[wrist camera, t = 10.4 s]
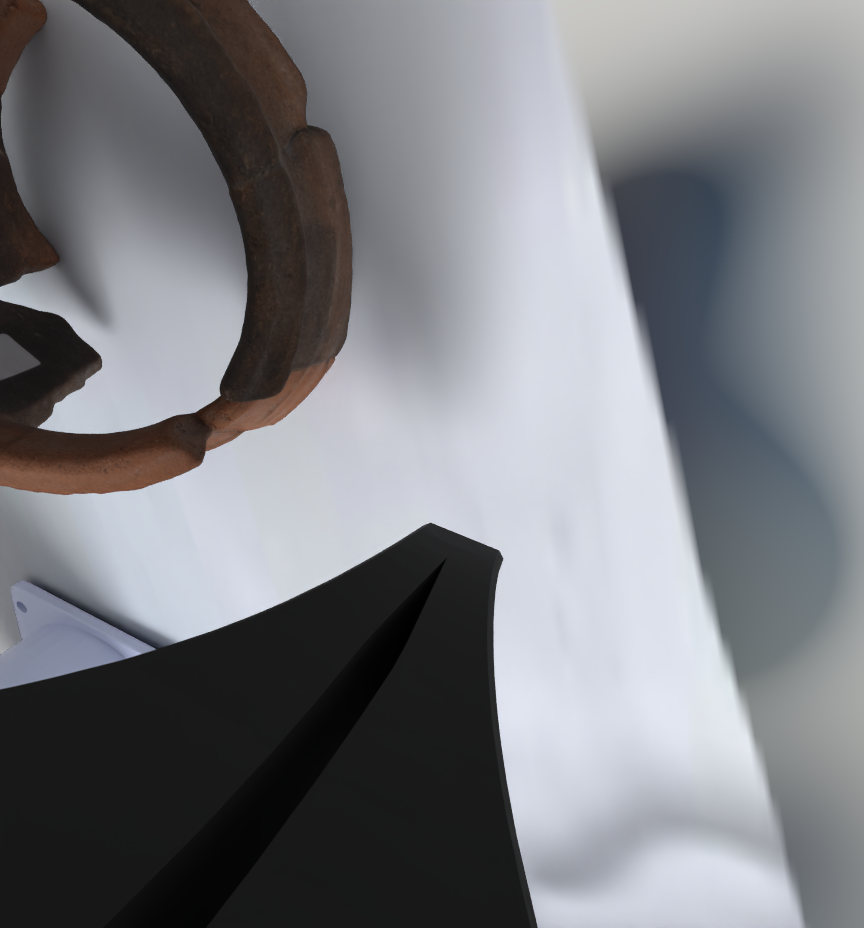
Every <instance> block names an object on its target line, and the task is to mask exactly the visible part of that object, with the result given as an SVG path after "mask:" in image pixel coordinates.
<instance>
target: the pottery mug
mask: <svg viewBox="0 0 864 928" xmlns="http://www.w3.org/2000/svg"><path fill="white" fill-rule="evenodd" d="M72 1H74V2H76V3H77V4H79V5H80V6H81V7H83V8H84V9H85V10H87V11H88V12H90V13H91V14H92V15H93V16H94V17H96V18H97V19H98V20H100V21H102V22H103V23H105V24H106V25H107V26H109V27H110V28H111V29H113V30H114V31H115V32H116V33H117V34H118V35H120V36H121V37H122V38H123V39H124V40H125V41H126V42H128V43H129V44H130V45H131V46H132V47H133V48H134V49H135V50H136V51H137V52H138V53H139V54H140V55H141V56H142V57H143V58H144V59H145V60H146V61H147V62H148V63H149V64H150V65H151V66H152V67H153V68H154V69H155V70H156V72H157V73H158V74H159V76H160V77H161V78H162V79H163V80H164V81H165V82H166V83H167V85H168V86H169V87H170V88H171V89H172V91H173V92H174V93H175V95H176V96H177V97H178V99H179V100H180V102H181V103H182V105H183V106H184V108H185V110H186V111H187V113H188V114H189V115H190V117H191V118H192V120H193V121H194V122H195V124H196V125H197V127H198V128H199V130H200V131H201V133H202V135H203V137H204V139H205V140H206V142H207V144H208V146H209V148H210V150H211V152H212V154H213V156H214V158H215V160H216V162H217V164H218V166H219V168H220V170H221V172H222V174H223V176H224V178H225V180H226V182H227V185H228V188H229V195H230V197H231V200H232V202H233V205H234V208H235V211H236V214H237V218H238V222H239V224H240V228H241V233H242V238H243V243H244V248H245V255H246V265H247V272H248V281H247V303H246V310H245V318H244V323H243V327H242V333H241V338H240V341H239V343H238V346H237V348H236V350H235V352H234V355H233V357H232V359H231V361H230V363H229V365H228V367H227V370H226V372H225V374H224V376H223V378H222V381H221V384H220V394H221V396H220V397H219V398H217V399H216V400H215V401H213V402H212V403H210V404H209V405H207V406H205V407H203V408H202V409H200V410H199V411H197V412H196V413H191V414H184V415H176V416H173V417H171V418H168V419H166V420H163V421H161V422H159V423H156V424H154V425H150V426H147V427H143V428H139V429H135V430H130V431H123V432H115V433H108V434H75V433H64V432H56V431H49V430H44V429H39V428H37V427H38V426H40V425H41V424H42V423H44V422H45V421H46V420H47V419H48V418H49V417H50V416H51V414H52V412H53V408H54V405H55V403H57V402H60V401H62V400H63V399H64V398H65V397H66V396H67V395H69V394H70V393H72V392H74V391H76V390H79V389H81V388H82V387H83V386H84V385H85V381H86V379H88V378H89V377H91V376H92V375H94V374H95V373H96V372H97V371H99V370H100V369H101V367H102V359H101V356H100V355H99V354H98V353H97V352H96V351H95V350H94V349H93V348H92V347H91V346H90V345H88V344H87V343H86V342H84V341H83V340H82V339H81V338H80V337H79V336H78V335H77V334H76V332H75V331H74V330H73V328H72V327H71V326H70V325H69V323H68V322H67V321H66V320H65V319H64V318H62V317H61V316H59V315H57V314H54V313H49V312H42V311H38V310H35V309H32V308H28V307H25V306H21V305H17V304H12V303H8V302H4V301H2V300H0V486H7V487H12V488H15V489H19V490H27V491H33V492H45V493H52V494H62V495H70V494H87V493H98V494H104V493H110V492H116V491H130V490H137V489H142V488H145V487H147V486H149V485H153V484H156V483H159V482H162V481H165V480H168V479H171V478H174V477H176V476H178V475H181V474H183V473H185V472H188V471H190V470H192V469H193V468H196V467H198V466H199V465H200V464H201V463H202V462H203V459H204V456H205V451H209V450H211V449H214V448H217V447H219V446H221V445H223V444H225V443H227V442H230V441H232V440H233V439H235V438H236V437H238V436H239V435H240V434H242V433H243V432H244V431H248V430H253V429H257V428H261V427H264V426H268V425H274V424H275V423H277V422H278V421H280V420H282V419H283V418H284V417H286V416H287V415H288V414H289V413H290V412H291V411H292V410H294V409H295V408H296V407H297V406H298V405H299V404H300V403H301V402H302V401H303V400H304V399H305V398H306V397H307V396H308V395H309V394H310V393H311V391H312V390H313V389H314V388H315V387H316V386H317V384H318V383H319V382H320V380H321V379H322V378H323V376H324V375H325V373H326V372H327V371H328V370H329V368H330V367H331V366H332V364H333V363H334V361H335V356H337V354H338V353H339V352H340V350H341V348H342V347H343V345H344V343H345V340H346V337H347V329H348V322H349V314H350V307H351V290H352V286H351V285H352V237H351V230H350V216H349V210H348V205H347V199H346V195H345V191H344V184H343V180H342V175H341V170H340V163H339V159H338V155H337V151H336V148H335V144H334V142H333V140H332V138H331V136H330V134H329V133H328V132H327V131H325V130H323V129H321V128H318V127H314V126H309V125H307V122H306V101H307V90H306V85H305V81H304V79H303V77H302V74H301V73H300V71H299V69H298V68H297V66H296V65H295V64H294V62H293V61H292V59H291V58H290V56H289V54H288V53H287V52H286V50H285V49H284V47H283V46H282V44H281V43H280V41H279V39H278V38H277V37H276V36H275V34H274V33H273V32H272V30H271V29H270V28H269V26H268V25H267V24H266V23H265V22H264V21H263V20H262V18H261V17H260V16H259V15H258V14H257V13H256V11H255V10H254V9H253V8H252V7H251V5H250V4H249V2H248V0H72ZM46 19H47V12H46V9H45V7H44V6H43V5H42V3H41V2H40V1H39V0H0V287H1V286H3V285H6V284H10V283H13V282H16V281H17V280H19V279H20V278H21V276H22V275H24V274H28V273H33V272H38V271H42V270H45V269H47V268H50V267H52V266H54V265H56V264H57V263H58V262H59V256H58V255H57V253H56V252H55V250H54V249H53V248H52V247H51V245H50V244H49V243H48V241H47V240H46V239H45V237H44V236H43V235H42V234H41V232H40V231H39V230H38V228H37V226H36V225H35V223H34V221H33V219H32V217H31V216H30V214H29V213H28V211H27V209H26V208H25V206H24V204H23V202H22V200H21V197H20V195H19V193H18V191H17V187H16V184H15V181H14V177H13V174H12V170H11V166H10V163H9V159H8V156H7V154H6V151H5V147H4V144H3V139H2V129H1V109H2V103H1V97H2V95H3V93H4V91H5V89H6V86H7V82H8V80H9V77H10V75H11V72H12V70H13V68H14V67H15V65H16V63H17V61H18V60H19V58H20V56H21V53H22V51H23V49H24V48H25V46H26V45H27V43H28V42H29V41H30V40H31V39H32V37H33V36H34V35H35V34H36V32H37V31H38V30H39V29H40V28H41V27H42V26H43V25H44V24H45V22H46Z"/></svg>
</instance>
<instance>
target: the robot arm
mask: <svg viewBox="0 0 864 928" xmlns="http://www.w3.org/2000/svg"><path fill="white" fill-rule="evenodd" d="M502 561H503V557H502V555H501V553H500V551H499V550H497V549H494V548H492V547H489V546H487V545H484V544H482V543H479V542H477V541H474V540H472V539H469V538H467V537H465V536H462V535H460V534H457V533H455V532H452V531H450V530H447V529H445V528H442V527H440V526H437V525H435V524H432V523H429V524H426V525H424V526H422V527H420V528H419V529H417V530H416V531H414V532H413V533H411V534H409V535H408V536H406V537H405V538H403V539H401V540H400V541H398V542H397V543H395V544H393V545H392V546H390V547H388V548H387V549H385V550H383V551H382V552H380V553H378V554H377V555H375V556H373V557H371V558H370V559H368V560H366V561H364V562H362V563H361V564H359V565H357V566H355V567H353V568H351V569H350V570H348V571H346V572H344V573H342V574H341V575H339V576H337V577H335V578H333V579H331V580H329V581H327V582H325V583H323V584H321V585H319V586H317V587H315V588H313V589H310V590H308V591H306V592H304V593H302V594H300V595H298V596H296V597H294V598H292V599H290V600H288V601H285V602H283V603H281V604H279V605H276V606H274V607H272V608H269V609H267V610H265V611H262V612H260V613H258V614H255V615H253V616H250V617H248V618H245V619H243V620H240V621H237V622H235V623H232V624H230V625H227V626H224V627H222V628H219V629H216V630H214V631H211V632H208V633H205V634H202V635H199V636H196V637H193V638H190V639H187V640H184V641H181V642H178V643H175V644H172V645H169V646H166V647H163V648H159V649H155V648H153V647H151V646H149V645H147V644H145V643H144V642H142V641H140V640H138V639H136V638H134V637H132V636H130V635H128V634H126V633H125V632H123V631H121V630H119V629H117V628H115V627H113V626H111V625H109V624H107V623H105V622H104V621H102V620H100V619H98V618H96V617H94V616H92V615H90V614H88V613H86V612H84V611H83V610H81V609H79V608H77V607H75V606H73V605H71V604H69V603H67V602H65V601H64V600H62V599H60V598H58V597H56V596H54V595H52V594H50V593H48V592H46V591H44V590H43V589H41V588H39V587H37V586H35V585H33V584H31V583H29V582H27V581H20V582H18V583H16V584H15V585H13V586H12V587H11V596H12V600H13V605H14V609H15V613H16V618H17V622H18V626H19V631H20V635H21V639H22V640H21V641H20V642H18V643H17V644H15V645H14V646H12V647H11V648H9V649H8V650H7V651H5V652H4V653H2V654H1V655H0V928H538V927H537V923H536V918H535V914H534V910H533V905H532V901H531V897H530V892H529V888H528V884H527V879H526V875H525V871H524V866H523V862H522V857H521V853H520V849H519V844H518V840H517V835H516V830H515V825H514V820H513V814H512V809H511V803H510V798H509V792H508V787H507V781H506V774H505V768H504V761H503V754H502V747H501V740H500V732H499V723H498V714H497V703H496V690H495V677H494V648H493V620H494V602H495V591H496V584H497V578H498V573H499V570H500V567H501V564H502Z"/></svg>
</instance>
